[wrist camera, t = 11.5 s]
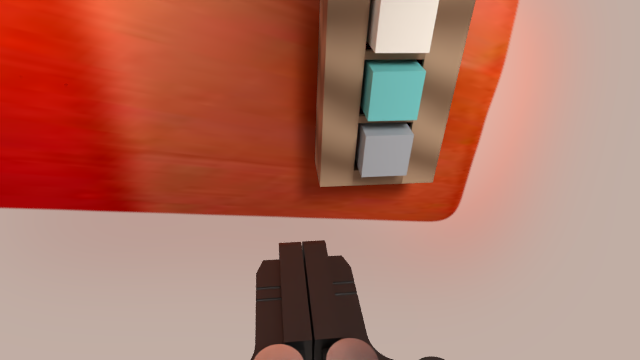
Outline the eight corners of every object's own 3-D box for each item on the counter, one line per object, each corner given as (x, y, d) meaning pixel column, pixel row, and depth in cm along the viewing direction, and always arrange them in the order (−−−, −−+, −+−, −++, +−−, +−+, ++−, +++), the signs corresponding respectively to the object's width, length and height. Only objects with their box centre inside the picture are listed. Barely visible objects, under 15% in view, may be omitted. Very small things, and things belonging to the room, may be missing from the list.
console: (321, -54, 34) (329, -47, 30) (459, -50, 35) (485, -43, 31) (314, 160, 46) (320, 186, 42) (417, 157, 47) (432, 182, 43)
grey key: (357, 116, 40) (366, 136, 37) (401, 115, 41) (414, 134, 37) (353, 155, 43) (361, 177, 39) (395, 154, 43) (406, 175, 40)
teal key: (363, 55, 37) (373, 71, 33) (411, 55, 37) (426, 71, 34) (358, 102, 39) (367, 121, 36) (404, 101, 40) (416, 120, 36)
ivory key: (370, -18, 33) (381, -8, 30) (423, -17, 34) (440, -8, 30) (364, 38, 36) (375, 53, 33) (414, 38, 36) (429, 52, 33)
